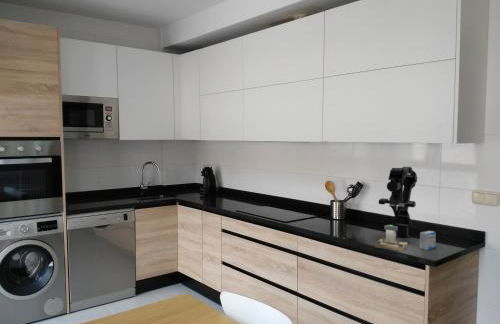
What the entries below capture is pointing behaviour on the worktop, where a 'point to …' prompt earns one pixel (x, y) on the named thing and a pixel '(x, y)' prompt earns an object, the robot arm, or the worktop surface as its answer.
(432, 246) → the medicine box
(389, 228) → the white plastic container
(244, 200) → the worktop surface
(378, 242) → the tribrach base
